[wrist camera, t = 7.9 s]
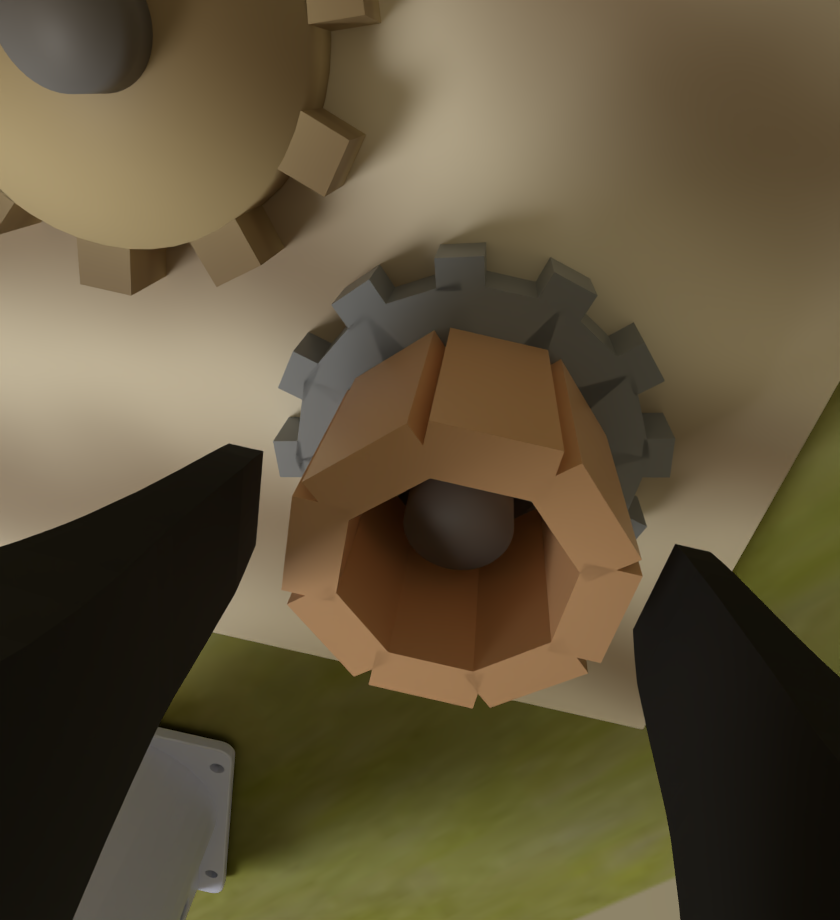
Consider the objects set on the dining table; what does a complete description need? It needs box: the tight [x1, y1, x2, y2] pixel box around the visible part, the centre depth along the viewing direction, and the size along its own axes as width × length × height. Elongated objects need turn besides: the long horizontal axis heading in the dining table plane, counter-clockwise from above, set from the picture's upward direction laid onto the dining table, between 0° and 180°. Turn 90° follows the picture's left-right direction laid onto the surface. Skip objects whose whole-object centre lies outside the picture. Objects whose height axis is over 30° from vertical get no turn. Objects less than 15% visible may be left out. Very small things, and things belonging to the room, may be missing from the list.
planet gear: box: [273, 242, 675, 709], centre depth 13 cm, size 8×8×5 cm
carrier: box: [0, 0, 840, 730], centre depth 13 cm, size 20×20×4 cm
